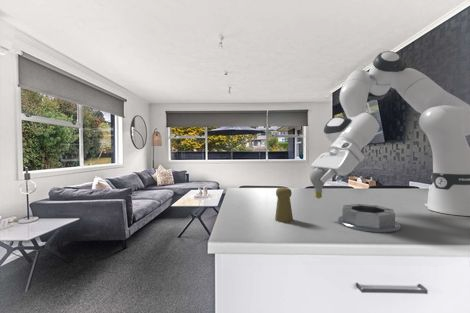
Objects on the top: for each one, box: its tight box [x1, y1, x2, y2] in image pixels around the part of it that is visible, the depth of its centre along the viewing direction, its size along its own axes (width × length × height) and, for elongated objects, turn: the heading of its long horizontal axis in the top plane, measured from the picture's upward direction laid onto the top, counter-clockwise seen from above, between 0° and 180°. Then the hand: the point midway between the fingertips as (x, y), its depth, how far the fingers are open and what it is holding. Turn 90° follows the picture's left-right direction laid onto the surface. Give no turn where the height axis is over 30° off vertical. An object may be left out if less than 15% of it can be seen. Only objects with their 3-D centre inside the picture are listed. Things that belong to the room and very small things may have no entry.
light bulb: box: [309, 169, 326, 199], centre depth 80 cm, size 6×6×10 cm
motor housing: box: [337, 203, 401, 234], centre depth 74 cm, size 17×17×5 cm
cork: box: [274, 187, 294, 224], centre depth 79 cm, size 6×6×11 cm
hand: (316, 180), depth 80 cm, fingers closed on light bulb, 5 cm apart
